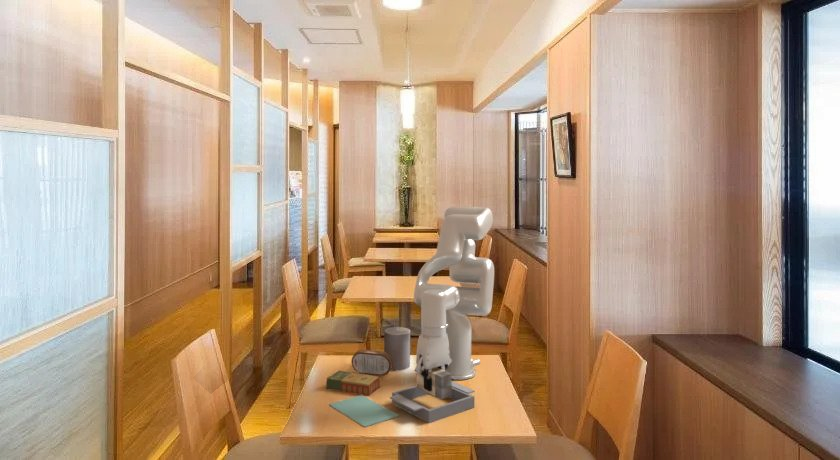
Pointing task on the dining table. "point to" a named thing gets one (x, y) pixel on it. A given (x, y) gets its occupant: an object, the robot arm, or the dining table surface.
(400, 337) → the pillar candle
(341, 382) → the carton
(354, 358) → the tin
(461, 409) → the open square frame
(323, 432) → the dining table surface
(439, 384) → the block
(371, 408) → the mat
